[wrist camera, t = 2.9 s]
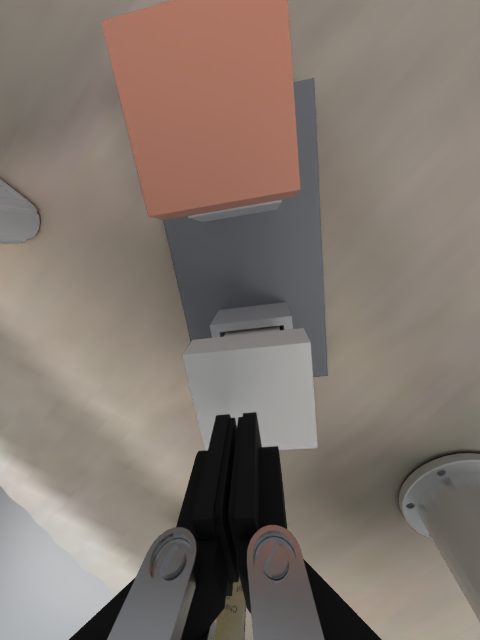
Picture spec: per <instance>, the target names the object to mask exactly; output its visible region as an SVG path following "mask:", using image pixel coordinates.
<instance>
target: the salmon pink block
mask: <svg viewBox="0 0 480 640" xmlns="http://www.w3.org/2000/svg"><path fill="white" fill-rule="evenodd" d="M101 22H102V26H103V30H104V34H105V39H106V43H107V47H108V51H109V55H110V59H111V63H112V68H113V72H114V76H115V80H116V84H117V88H118V92H119V97H120V101H121V105H122V109H123V113H124V117H125V121H126V126H127V130H128V134H129V138H130V142H131V146H132V150H133V154H134V159H135V163H136V167H137V171H138V175H139V179H140V183H141V188H142V192H143V196H144V200H145V204H146V208H147V212H148V216H149V217H154V218H159V219H164V220H168V219H174V218H180V217H185V216H191V215H197V214H203V213H208V212H214V211H220V210H226V209H231V208H237V207H243V206H249V205H254V204H260V203H266V202H272V201H277V200H283V199H289V198H294V197H295V196H296V195H297V193H298V192H299V191H300V175H299V160H298V145H297V130H296V115H295V100H294V85H293V70H292V55H291V40H290V25H289V10H288V0H172V1H169V2H165V3H162V4H158V5H155V6H152V7H148V8H145V9H141V10H138V11H134V12H131V13H127V14H124V15H120V16H117V17H114V18H110V19H107V20H103V21H101Z"/></svg>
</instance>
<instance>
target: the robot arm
mask: <svg viewBox="0 0 480 640" xmlns="http://www.w3.org/2000/svg"><path fill="white" fill-rule="evenodd" d="M399 506H400V509H401V511H402V514H403V516H404V518H405V519H406V521H407V523H408V524H409V525H410V526H411V527H412V528H413V529H414V530H415V531H417V532H418V533H420V534H421V535H423V536H425V537H428V538H430V539H433V541H434V543H435V544H436V546H437V548H438V550H439V551H440V553H441V555H442V557H443V558H444V560H445V562H446V564H447V566H448V567H449V569H450V571H451V573H452V574H453V576H454V578H455V580H456V581H457V583H458V585H459V587H460V588H461V590H462V592H463V594H464V595H465V597H466V599H467V601H468V602H469V604H470V606H471V608H472V609H473V611H474V613H475V615H476V616H477V618H478V620H479V622H480V454H475V453H461V454H453V455H447V456H444V457H441V458H437V459H434V460H432V461H430V462H428V463H426V464H424V465H422V466H421V467H419V468H418V469H416V470H415V471H414V472H413V473H412V474H411V475H410V476H409V477H408V478H407V479H406V481H405V482H404V484H403V485H402V488H401V490H400V493H399ZM239 577H240V581H241V585H242V590H243V594H244V598H245V602H246V606H247V609H248V610H249V612H250V613H251V615H252V627H253V638H254V640H381V639H380V638H379V637H378V636H377V634H376V633H375V632H374V631H373V630H372V629H371V628H370V627H369V626H368V625H367V624H366V623H365V622H364V621H363V620H362V619H361V618H360V617H359V616H358V615H357V614H356V613H355V612H354V611H353V610H352V609H351V608H350V607H349V605H348V604H347V603H346V602H345V601H344V600H343V599H342V598H341V597H340V596H339V595H338V594H337V593H336V592H335V591H334V590H333V589H332V588H331V587H330V586H329V585H328V584H327V583H326V582H325V581H324V580H323V579H322V578H321V576H320V575H319V574H318V573H317V572H316V571H315V570H314V569H313V568H312V567H311V566H310V565H309V564H308V563H307V562H306V561H305V560H304V559H303V556H302V553H301V549H300V547H299V544H298V542H297V540H296V538H295V537H294V536H293V535H292V533H291V532H289V531H288V530H287V522H286V512H285V502H284V492H283V482H282V473H281V464H280V456H279V449H278V446H273V447H262V445H261V438H260V432H259V425H258V419H257V413H256V412H252V413H243V417H238V424H237V425H236V420H235V418H231V416H230V414H226V415H216V418H215V422H214V426H213V430H212V435H211V439H210V443H209V448H208V450H207V451H198V453H197V455H196V458H195V462H194V466H193V469H192V473H191V476H190V480H189V483H188V487H187V491H186V494H185V498H184V501H183V505H182V508H181V512H180V516H179V519H178V523H177V526H176V527H175V528H172V529H169V530H167V531H165V532H164V533H163V534H161V535H160V536H159V537H158V538H157V539H156V540H155V541H154V542H153V544H152V546H151V547H150V549H149V551H148V552H147V555H146V557H145V559H144V561H143V563H142V565H141V567H140V570H139V572H138V574H137V576H136V578H134V579H133V580H132V581H131V582H130V583H129V584H128V585H127V586H126V587H125V588H124V589H123V590H122V591H121V592H119V593H118V594H117V595H116V596H115V597H114V598H113V599H112V600H111V601H110V602H109V603H108V604H107V605H106V606H105V607H103V608H102V609H101V610H100V611H99V612H98V613H97V614H96V615H95V616H94V617H93V618H92V619H91V620H90V621H88V622H87V623H86V624H85V625H84V626H83V627H82V628H81V629H80V630H79V631H78V632H77V633H76V634H75V635H73V636H72V637H71V638H70V639H69V640H214V635H215V631H216V624H217V617H218V616H219V614H220V613H221V612H222V611H223V609H224V608H225V601H226V596H232V590H233V582H238V581H239Z"/></svg>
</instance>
